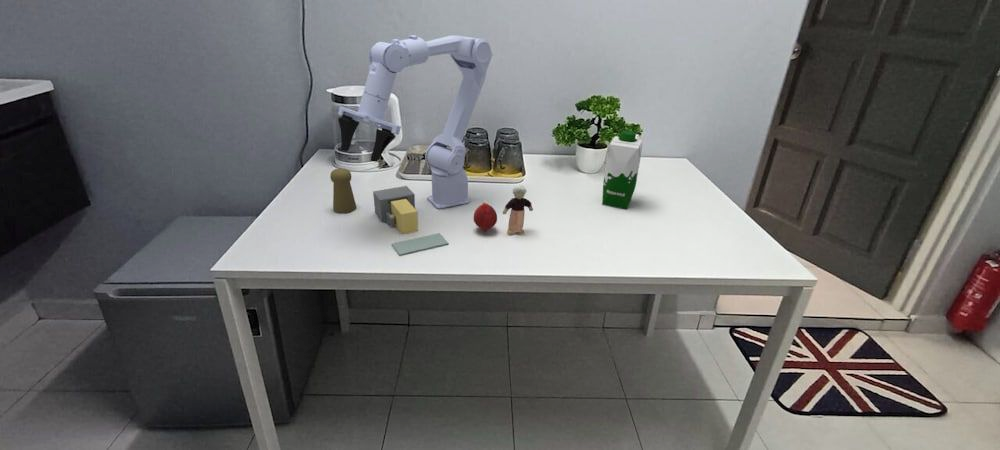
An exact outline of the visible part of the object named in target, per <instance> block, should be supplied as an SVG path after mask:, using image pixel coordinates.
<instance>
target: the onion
mask: <svg viewBox="0 0 1000 450" xmlns="http://www.w3.org/2000/svg"><path fill="white" fill-rule="evenodd" d="M497 222H498V214H497V212H496V209H495V208H494V207H493V206H492V205H490V204H489V203H487V201H486V200H483V202H482V204H481V205H479V206H478V207H477V208H476V209H475V210H474V213H473V223H474V224H475V225H476V227H478V228H479V229H480V230H481V231H484V232H486V231H488V230H490V229H492V228H493V227H495V226H496V224H497Z"/></svg>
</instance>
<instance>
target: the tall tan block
mask: <svg viewBox="0 0 1000 450" xmlns="http://www.w3.org/2000/svg"><path fill="white" fill-rule="evenodd" d="M391 213H392V215H394V220H395V226H396V228H397V229H398V230H399V232H400V233H401V234H402V235H405V234H411V233H415V232H418V231H419V223H418V222H419V221H418V220H419V219H418V210H416V207H415V208H414V207H413V206H412V205H411V204H410V203H409V202H408V201H407V199H402V200H397V201H391Z"/></svg>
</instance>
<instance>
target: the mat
mask: <svg viewBox="0 0 1000 450" xmlns="http://www.w3.org/2000/svg"><path fill="white" fill-rule="evenodd" d="M449 244H450V243H449V241H447V240H446V239H445V237H444V236H443V235H442V234H441V233H439V232H437V233H432V234H428V235H423V236H420V237H414V238H410V239H406V240H402V241H396V242H392V243H391V246H392V247H393V249H394V251H396V253H397V255H398V256H400V257H402V256H404V255H409V254H413V253H417V252H422V251H426V250H431V249H434V248H435V249H436V248H440V247H444V246H448V245H449Z"/></svg>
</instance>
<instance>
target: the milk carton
mask: <svg viewBox="0 0 1000 450" xmlns="http://www.w3.org/2000/svg"><path fill="white" fill-rule="evenodd" d="M636 135H637V132H635V131H634V130H633V131H632V130H621V131H620V136H616V135H615V136H614V137H613V139H612V140H611V142H610V143H609V146H608V149H607V152H606V153H607V155H606V156H607V157H606V161H605V170H604V175H603V183H602V201H601V202H602V204H601V205H602V206H603V205H604V206H607V207H608V206H609V207H614V208H619V209H624V210H627V209H628V207H629V205H630V203H631V200H632V199H633V198H632V197H633V195H634V192H635V189H636V185H637V181H638V180H637V179H638V176H639V169H640V164H641V157H642V151H643V150H642V149H643V140H642V139H637V138H636Z"/></svg>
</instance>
